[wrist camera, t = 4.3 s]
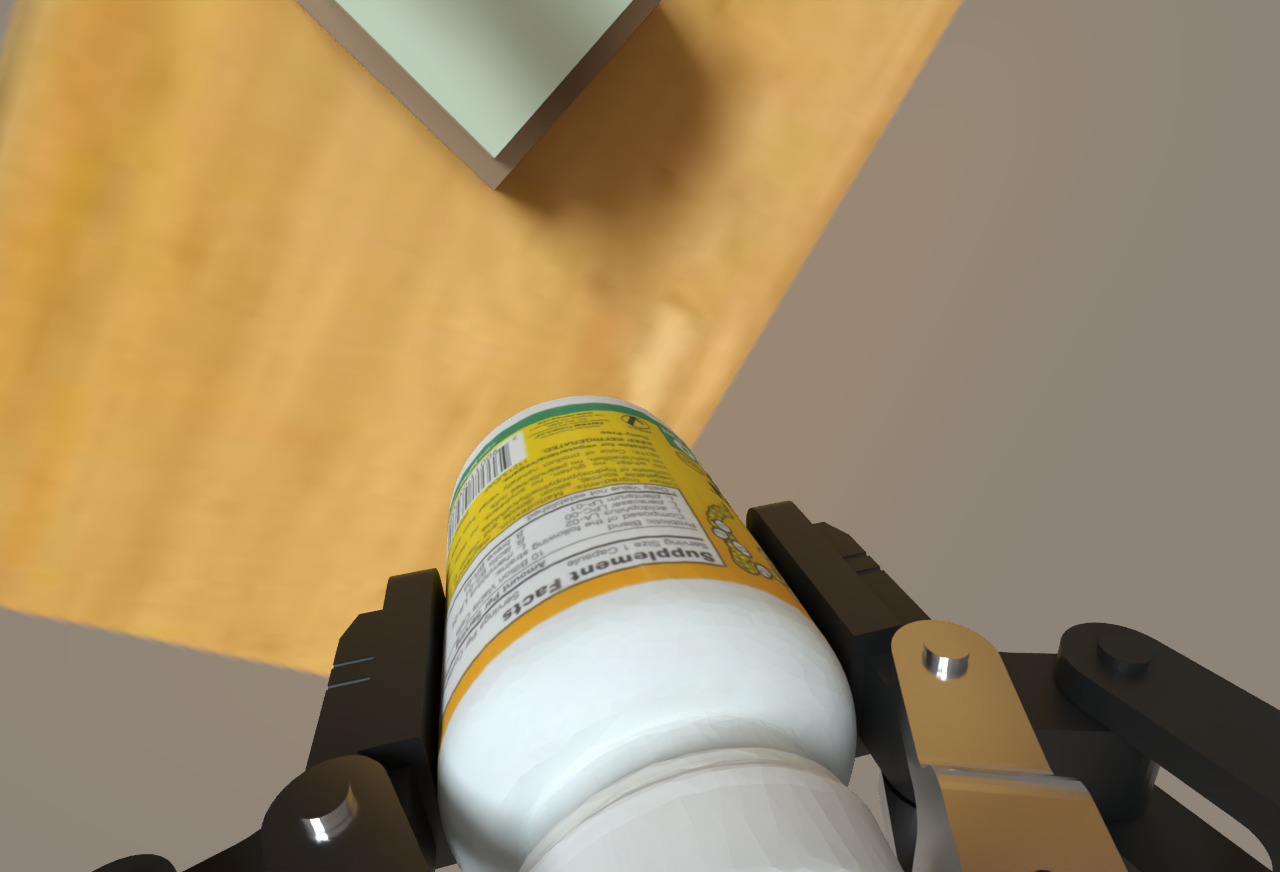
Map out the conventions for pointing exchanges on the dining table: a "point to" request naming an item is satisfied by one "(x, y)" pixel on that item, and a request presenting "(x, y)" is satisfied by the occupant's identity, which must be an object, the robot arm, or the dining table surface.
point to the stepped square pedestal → (483, 63)
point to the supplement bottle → (632, 668)
